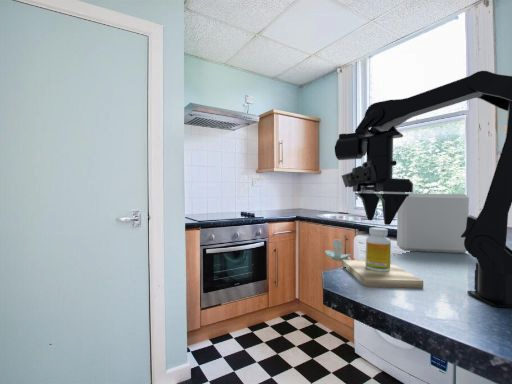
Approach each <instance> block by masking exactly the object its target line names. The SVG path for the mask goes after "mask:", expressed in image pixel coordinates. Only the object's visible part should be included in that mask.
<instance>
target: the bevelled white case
mask: <svg viewBox="0 0 512 384" xmlns="http://www.w3.org/2000/svg"><path fill="white" fill-rule="evenodd" d="M405 194H409V196H407V197H406V199H405V200H404V202H403V203H402V205H401V206H400V208H399V210H398V211H397V213H396V215H397V217H396V218H397V219H396V220H397V221H396V224H397V227H396V232H397V233H396V246H397V247H398V248H399V249H401V250H403V251H405V252H423V251H425V252H427V253H444V254H445V253H447V254H448V253H449V254H465V253H467V252H468V251H467V250H466V249H465V246H464V240H465V238H466V237H463V238H462V237H461V235H462V234H463V233H464V232H465V230H466V224H467V217H468V216H469V215H470V213H469V212H470V211H469V210H470V209H469V207H470V206H469V205H470V204H469V203H470V200H469V199H470V197H469V196H467V194H466V193H465V194H461V193H457V194H456V193H414V192H405ZM416 250H418V251H416Z"/></svg>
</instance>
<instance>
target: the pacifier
mask: <svg viewBox="0 0 512 384" xmlns="http://www.w3.org/2000/svg"><path fill="white" fill-rule="evenodd" d="M332 247H333V249H334V250H333V251H332V250H329V249H328V250H327V249H326V250H325V252H324V253H325V255H326V256H328V257H329V258H331V259H332V260H333V261H337V262H342V260H352V258H351V257H350V256H351V254H352V253H345V254H343V253H342V249H343V247H344V244H343V242H342V240H340V239H338V238H337V239H336V238H335V239H334V240H333V241H332Z"/></svg>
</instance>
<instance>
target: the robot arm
mask: <svg viewBox="0 0 512 384" xmlns="http://www.w3.org/2000/svg"><path fill="white" fill-rule="evenodd" d="M476 98H477V99H479V100H481V101H484V102H486V103H488V104H490V105H492V106H494V107H496V108H498V109H501V110H503V111H505V112H507V119H506V131H505V133H506V134H505V139H504V143H503V145H502V148H501V151H500V155H499V158H498V161H497V165H496V166H495V170H494V174H493V176H492V180H491V182H490V185H489V188H488V191H487V195H486V198H485V201H484V203H483V207H482V209H481V211H480V212H479V214H478V216H474V215H471V214H469V215H468V217H467V224H466V230H465V232H464V233H463V234H462V235H461V237H462V238H463V237H466V238H465V240H464V246H465V249H466V250H467V251H466V252H467V253H468V254H469V255H471V256H472V257H473V258H475V259H476V260H477V262H476V263H475V270H474V288H473V289H474V290H467V294H468V295H470V296H472V297H474V298H476V299H478V300H480V301H483V302H485V303H487V304H489V305H490V306H493V307H496V308H512V249H511V248H510V247H509V246H507V234H508V219H509V212H510V209H511V206H512V75H506V74H497V73H494V72H491V71H488V70H480V71H476V72H474V73H472V74H470V75H468V76H465V77H463V78H460V79H456V80H454V81H451V82H449V83H446V84H444V85H439V86H437V87H434V88H432V89H428V90H426V91H423V92H420V93H418V94H414V95H412V96H410V97H406V98H399V99H387V100H382V101H378V102H374V103H372V104H370V105H369V106H368V107H367V109H366V111H365V113H364V117H363V118H362V120H361V121H360V123H359V124H358V125H357V127H356V129H354V132H351V133H340V134H338V139H337V140H336V142H335V145H334V154H335V155H334V156H335V157H336V159H337V160H338V161H346V160H348V161H349V160H350V161H351V160H361V159H362V158H363V157H364V156H366V161H365V162H363V163H362V164H361V165H359V166H356V167H353V168H352V170H351V171H350V172H347V173H345V174H343V175H341V179H342V181H343V185H344V186H345V187H344V188H352V192H355V193H354V194H355V196H357V197H358V198H359V199H361V202H362V205H363V208H364V212H365V216H366V218H367V221H373V219H374V217H375V214H376V210H377V207H378V204H379V202H381V205H382V215H383V218H382V219H383V222H384V225H386V226H390V225H391V223H393V220H394V218H395V216H396V215H397V213H398V210H399V208H400V206H401V205H402V203H403V202H404V200H405V199H406V197H407V196H409V194H405V193H414V183H413V182H412V181H411V180H410V178H393V166H397V160H394V139H401V138H403V137H404V135H403V133H401V132H400V131H399V130H398V129H397V127H399V126H400V125H402V124H403V123H405V122H406V121H407V120H409V119H412V118H414V117H418V116H421V115H424V114H427V113H430V112H433V111H437V110H440V109H443V108H446V107H449V106H453V105H456V104H460V103H462V102H465V101H469V100H473V99H476Z"/></svg>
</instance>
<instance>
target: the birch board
mask: <svg viewBox="0 0 512 384" xmlns="http://www.w3.org/2000/svg"><path fill="white" fill-rule="evenodd" d="M341 266H342V267H343V268H344V267H346V268H345V270H347V271H348V272H349V273H350V274H351V275H352V276H354V278H356V279H357V280H358V281H359V282H360V283H361V284H362V285H363V286H365V287H366V288H367V287H368V288H369V287H370V288H371V287H372V288H373V287H374V288H411V289H414V288H418V289H424V279H421V278H419V277H417V276H415V275H414V274H412V273H410V272H408V271H406V270H405V269H403V268H400V267H399V266H398V265H395V264H393V263H392V262H390V270H389V271H386V272H379V271H373V270H370V269H368V268H366V259H351V260H342V261H341ZM348 266H349V267H348Z"/></svg>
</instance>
